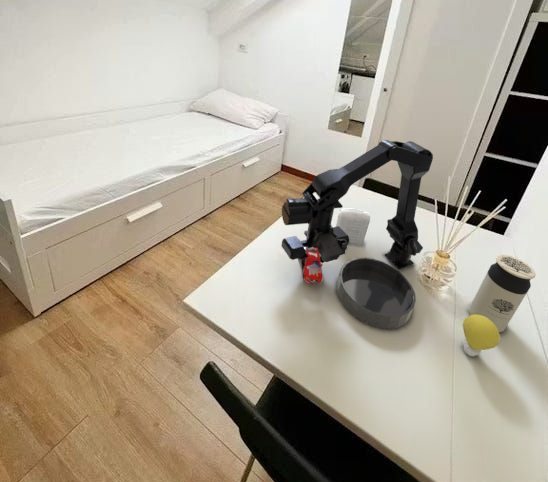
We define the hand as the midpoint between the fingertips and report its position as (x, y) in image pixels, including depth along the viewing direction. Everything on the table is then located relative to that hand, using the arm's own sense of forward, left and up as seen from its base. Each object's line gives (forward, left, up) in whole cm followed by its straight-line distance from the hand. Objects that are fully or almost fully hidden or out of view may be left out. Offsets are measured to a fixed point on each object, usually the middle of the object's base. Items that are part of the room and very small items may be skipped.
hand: (311, 265), depth 83 cm
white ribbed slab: (-20, -8, -3) cm, 22 cm away
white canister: (-36, +29, -3) cm, 46 cm away
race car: (0, 0, -1) cm, 1 cm away
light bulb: (-23, +33, -3) cm, 40 cm away
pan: (-12, +13, -3) cm, 18 cm away
